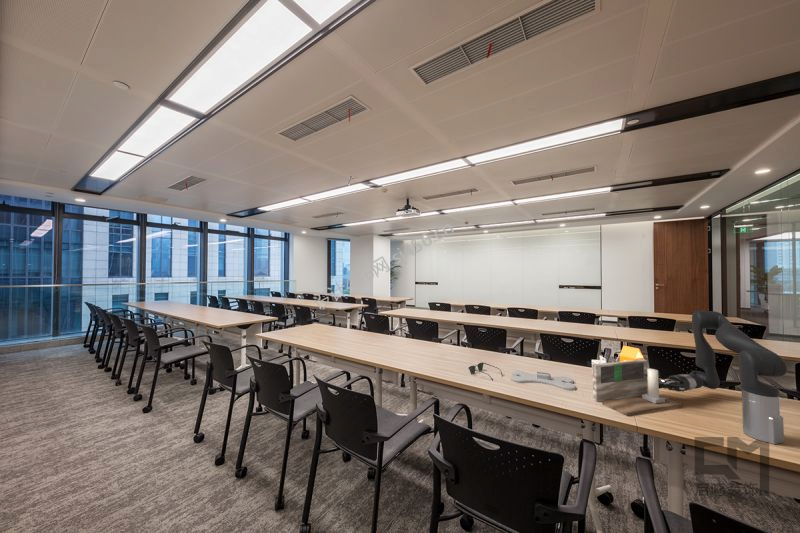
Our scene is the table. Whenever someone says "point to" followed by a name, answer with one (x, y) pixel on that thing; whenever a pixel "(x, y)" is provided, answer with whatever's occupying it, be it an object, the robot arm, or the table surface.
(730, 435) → the table surface
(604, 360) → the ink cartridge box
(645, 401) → the base
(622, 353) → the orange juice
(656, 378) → the white cylinder on base
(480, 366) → the sunglasses
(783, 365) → the robot arm
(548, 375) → the holder
